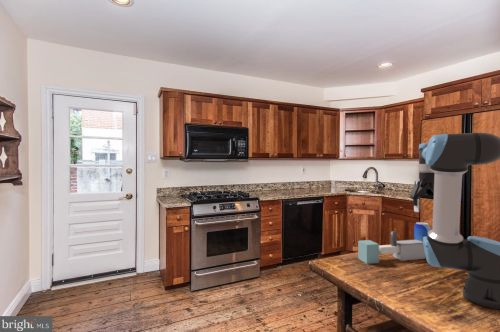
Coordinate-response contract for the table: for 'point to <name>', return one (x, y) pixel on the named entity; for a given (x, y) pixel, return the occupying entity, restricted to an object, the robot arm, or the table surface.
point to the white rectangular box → (410, 250)
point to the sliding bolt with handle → (390, 248)
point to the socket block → (368, 251)
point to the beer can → (421, 230)
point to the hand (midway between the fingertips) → (427, 211)
